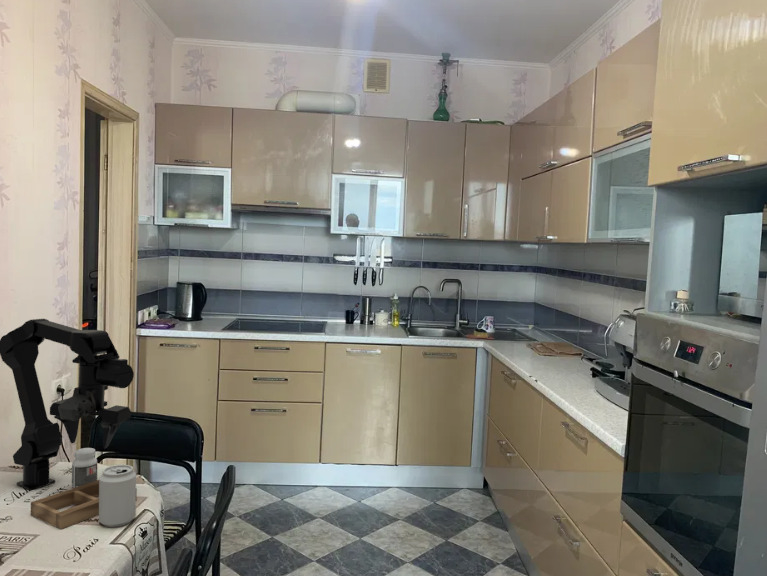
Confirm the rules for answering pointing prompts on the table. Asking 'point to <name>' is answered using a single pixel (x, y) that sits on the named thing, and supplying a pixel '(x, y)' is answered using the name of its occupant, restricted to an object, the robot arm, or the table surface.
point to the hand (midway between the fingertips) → (89, 445)
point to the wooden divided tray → (78, 496)
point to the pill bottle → (84, 467)
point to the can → (117, 495)
